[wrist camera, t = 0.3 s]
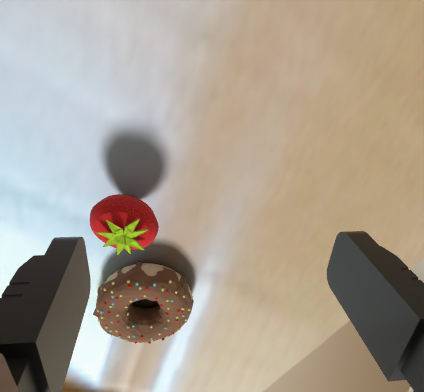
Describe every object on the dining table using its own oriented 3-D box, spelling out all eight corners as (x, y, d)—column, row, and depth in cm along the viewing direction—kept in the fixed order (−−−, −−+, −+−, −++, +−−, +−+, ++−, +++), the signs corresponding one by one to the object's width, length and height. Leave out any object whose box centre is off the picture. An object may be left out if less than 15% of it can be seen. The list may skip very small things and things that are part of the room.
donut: (103, 249, 43) (95, 275, 39) (201, 262, 46) (203, 287, 42) (95, 321, 50) (87, 350, 45) (181, 328, 52) (181, 356, 48)
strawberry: (110, 167, 37) (89, 212, 29) (168, 192, 40) (166, 240, 31) (93, 206, 40) (69, 259, 31) (149, 227, 42) (142, 282, 33)
